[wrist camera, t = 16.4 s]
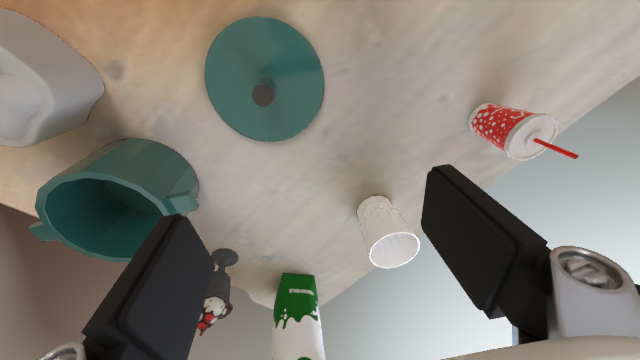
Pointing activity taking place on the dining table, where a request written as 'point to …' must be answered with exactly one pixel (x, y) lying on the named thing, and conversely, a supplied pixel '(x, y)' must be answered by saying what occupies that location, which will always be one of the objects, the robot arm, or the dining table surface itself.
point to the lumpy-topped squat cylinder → (41, 83)
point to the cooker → (115, 198)
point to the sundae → (218, 291)
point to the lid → (264, 79)
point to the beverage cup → (516, 130)
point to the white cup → (386, 233)
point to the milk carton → (297, 320)
